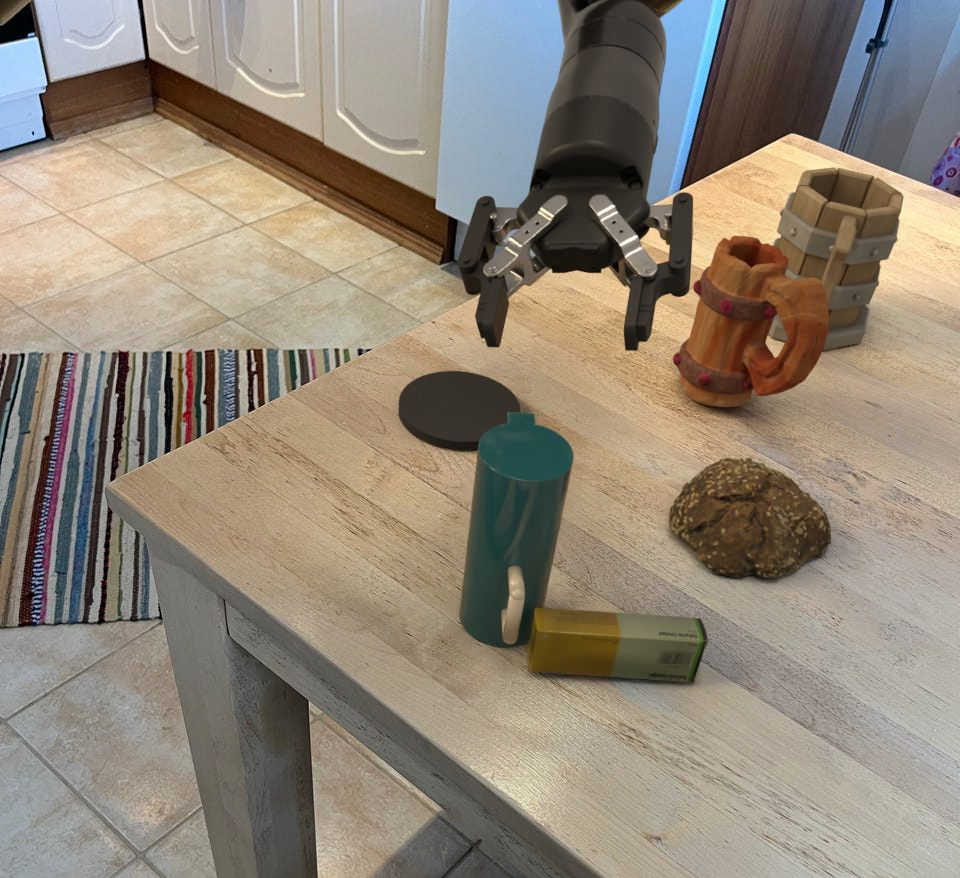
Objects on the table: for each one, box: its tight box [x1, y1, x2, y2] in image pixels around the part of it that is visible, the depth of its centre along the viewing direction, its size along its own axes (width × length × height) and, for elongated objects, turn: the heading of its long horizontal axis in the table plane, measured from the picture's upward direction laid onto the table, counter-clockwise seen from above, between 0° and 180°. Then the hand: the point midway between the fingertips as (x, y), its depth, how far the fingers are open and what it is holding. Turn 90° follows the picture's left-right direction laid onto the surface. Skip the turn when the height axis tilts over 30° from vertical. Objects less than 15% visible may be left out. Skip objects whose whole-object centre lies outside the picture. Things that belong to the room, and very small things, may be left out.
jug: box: [459, 412, 575, 648], centre depth 66 cm, size 10×6×15 cm, turn 2°
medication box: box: [524, 607, 709, 684], centre depth 68 cm, size 12×3×4 cm, turn 91°
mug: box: [672, 235, 829, 408], centre depth 88 cm, size 15×8×15 cm, turn 27°
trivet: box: [397, 370, 522, 452], centre depth 88 cm, size 11×11×1 cm
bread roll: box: [668, 457, 832, 579], centre depth 80 cm, size 13×12×5 cm
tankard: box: [768, 166, 904, 351], centre depth 99 cm, size 20×13×15 cm, turn 160°
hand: (559, 340), depth 59 cm, fingers open, 8 cm apart
